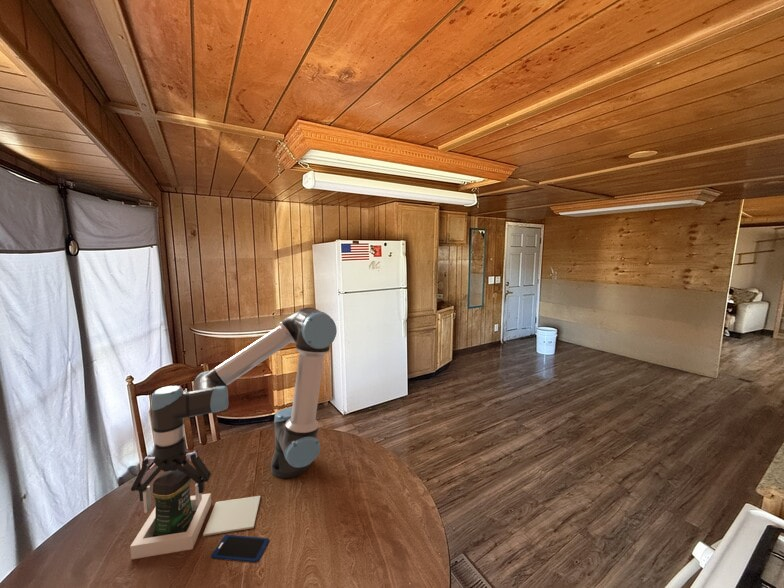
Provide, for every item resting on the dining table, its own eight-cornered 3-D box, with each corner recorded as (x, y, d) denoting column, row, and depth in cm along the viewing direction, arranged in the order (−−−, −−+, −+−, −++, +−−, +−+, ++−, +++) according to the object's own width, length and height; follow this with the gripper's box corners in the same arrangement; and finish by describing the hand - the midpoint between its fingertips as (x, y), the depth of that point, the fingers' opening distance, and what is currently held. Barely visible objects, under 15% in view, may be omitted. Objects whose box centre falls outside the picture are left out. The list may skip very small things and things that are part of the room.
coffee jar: (174, 545, 92) (170, 485, 90) (149, 541, 94) (145, 482, 91) (198, 518, 102) (195, 463, 100) (176, 514, 103) (173, 461, 101)
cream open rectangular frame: (211, 504, 108) (210, 493, 107) (192, 549, 91) (191, 536, 91) (160, 511, 104) (159, 500, 104) (131, 559, 88) (130, 546, 87)
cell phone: (225, 536, 96) (225, 534, 96) (270, 540, 95) (270, 538, 95) (209, 559, 89) (209, 556, 89) (258, 563, 88) (258, 561, 88)
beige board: (260, 497, 111) (260, 495, 111) (253, 528, 99) (253, 526, 99) (216, 503, 108) (216, 501, 108) (203, 536, 96) (203, 534, 95)
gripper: (219, 428, 101) (222, 490, 103) (127, 437, 95) (132, 502, 98) (212, 442, 94) (215, 508, 96) (112, 452, 88) (118, 522, 90)
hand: (173, 505), depth 97 cm, fingers open, 13 cm apart
